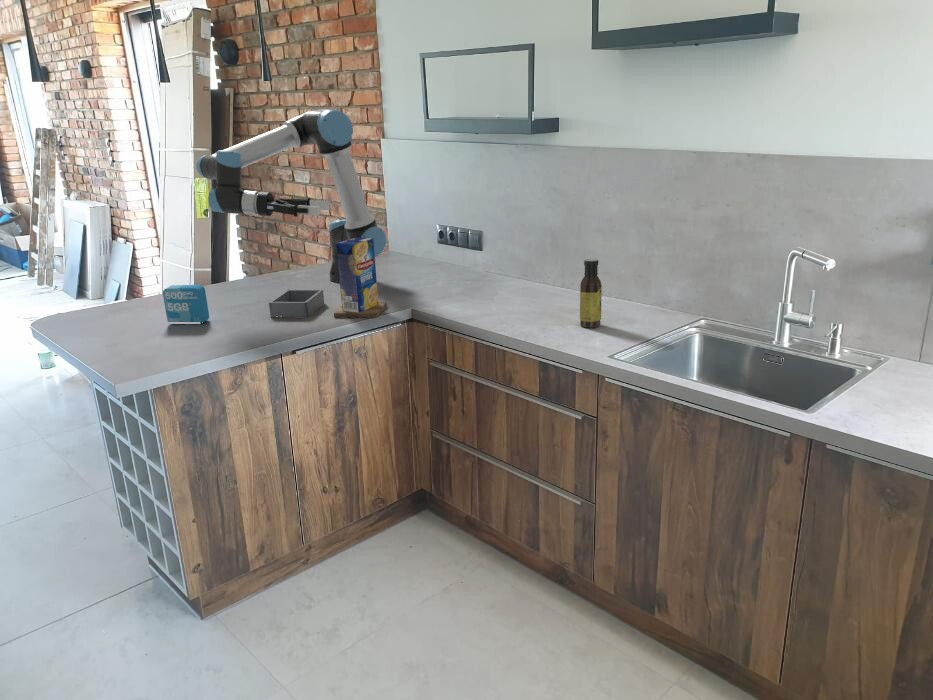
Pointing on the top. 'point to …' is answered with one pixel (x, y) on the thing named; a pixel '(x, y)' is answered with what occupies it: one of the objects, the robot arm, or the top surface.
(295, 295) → the charcoal crate
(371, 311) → the brown flat wooden slab
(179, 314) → the data package
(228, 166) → the robot arm
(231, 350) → the top surface
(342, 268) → the beverage box
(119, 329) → the top surface
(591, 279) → the sauce bottle
